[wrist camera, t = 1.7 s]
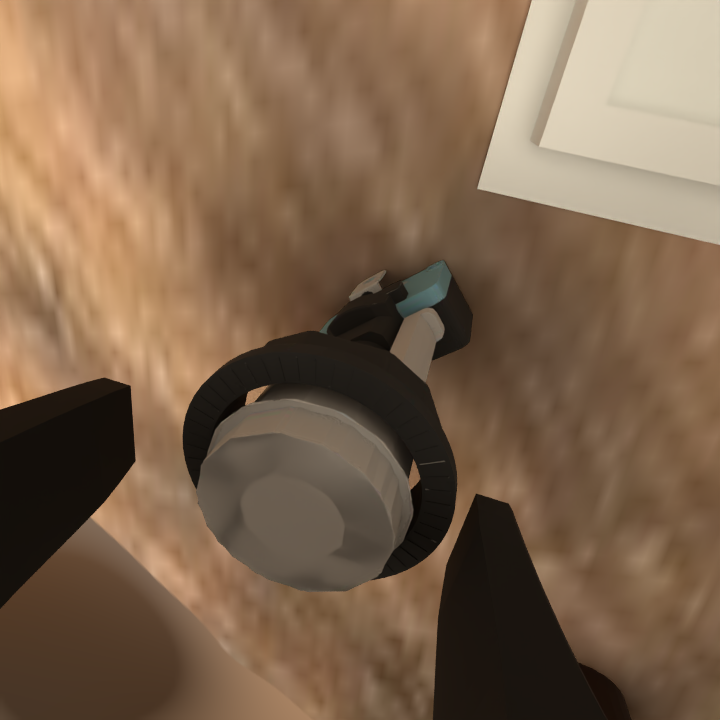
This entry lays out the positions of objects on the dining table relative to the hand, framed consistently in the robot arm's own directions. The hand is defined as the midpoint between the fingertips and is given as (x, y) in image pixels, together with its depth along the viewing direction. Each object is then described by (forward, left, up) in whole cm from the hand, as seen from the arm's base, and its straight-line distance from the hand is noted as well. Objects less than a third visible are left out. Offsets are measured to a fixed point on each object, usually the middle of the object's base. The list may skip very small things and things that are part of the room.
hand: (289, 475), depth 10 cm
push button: (0, 0, -9) cm, 9 cm away
